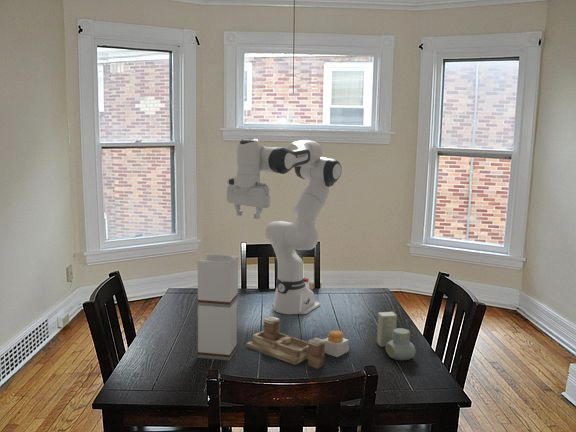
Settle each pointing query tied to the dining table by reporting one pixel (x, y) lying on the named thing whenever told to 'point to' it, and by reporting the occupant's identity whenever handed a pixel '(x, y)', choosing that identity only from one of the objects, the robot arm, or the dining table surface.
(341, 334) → the button
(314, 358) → the block
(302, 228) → the robot arm
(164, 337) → the dining table surface
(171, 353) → the dining table surface
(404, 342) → the air freshener
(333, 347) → the button housing
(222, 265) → the tall open-top box
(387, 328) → the skincare box
